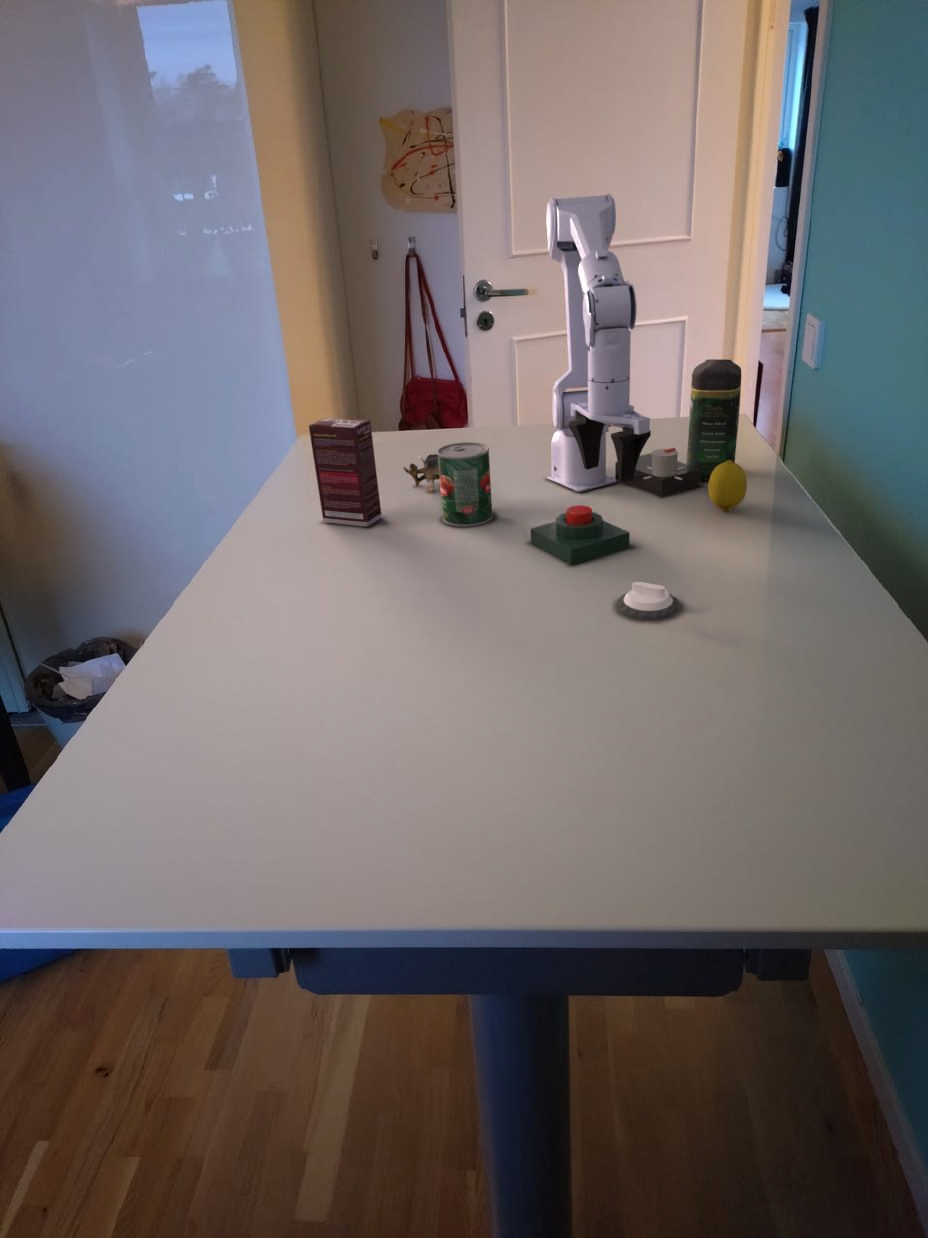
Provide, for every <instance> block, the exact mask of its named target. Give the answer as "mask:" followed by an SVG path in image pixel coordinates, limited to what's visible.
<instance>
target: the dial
mask: <svg viewBox="0 0 928 1238" xmlns="http://www.w3.org/2000/svg"><path fill="white" fill-rule="evenodd" d="M651 453H652V469H651V473H652V475H654V476H657V477H671V476H674V475H676V474H677V461H678V455H679V452H678V450H676V448H675V447H671V448H658V449H654V450H652V451H651Z"/></svg>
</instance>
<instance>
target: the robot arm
mask: <svg viewBox="0 0 928 1238" xmlns="http://www.w3.org/2000/svg"><path fill="white" fill-rule="evenodd" d="M616 209H617V208H616V202H615V199H614V197H613V196H612V195H611V194H610V193H605V194H604V195H603V194H602V195H591V196H579V197H578V196H577V197H563V198H556V197H551V198H550V200H549V201H548V202H547V205H546V232H547V250H548V252H549V258H550V259H551V260H554V261H556V262H558V263H559V264H560V268H561V270H562V274H563V281H564V282H563V283H564V303H565V320H566V321H565V323H566V340H567V341H566V342H567V344H566V345H567V363H568V370H567V371H566V372H565V373H564V374H563V375H561V376H560V377H559V378H557V380H556V381H555V382H554V384H553V386H552V400H551V402H552V403H551V407H552V410H551V411H552V421H553V426H554V429H556V430H555V432H554V433H553V436H552V438H551V443H550V448H551V449H550V457H551V458H550V459H551V474H549V475H548V476H547V479H548V480H550V481H552V482H554V483H557V484H559V485H561V486H564V487H566V488H568V489H570V490H573V491H575V492H577V493H582V492H585V491H589V490H593V489H597V488H600V487H605V486H608V485H613V484H616V483H617V482H618V481H619V482H622V483H624V482H623V481H627V480H630V479H633V476H634V472H635V469H636V465H637V462H638V459H639V456H641V455H642V454H641V453H642V452H643V449H644V447H645V445H646V444H647V442H648V440H649V439H650V437H651V433H652V431H651V430H650V425H651V424H650V422H651V418H650V417H648V416H645V415H642V414H640V413H639V412H637V411H636V410H635V405H631V404H630V401H631V400H630V395H631V394H630V392H631V391H630V390H631V337H632V335H631V334H632V333H631V331H630V330H633V329H634V328H635V325H636V321H637V310H638V309H637V307H638V305H637V297H636V290H635V287H634V284H633V283H630V282H629V280H625V279H624V276H623V272H622V268H621V264H620V262H619V259H618V257H617V255H616V254H615V253H614V252H612V251H610V250H609V248H610V247H611V243H612V241H613V236H614V234H615V231H616V224H617V211H616ZM629 329H630V330H629ZM579 388H587V389H585V390H583V389H581V390H571V391H570V390H569V391H567V390H568V389H579ZM610 427H616V428H620V429H622V430H620V431H617V432H614V433H610V439H611V441H612V443H613V447H614V450H615V455H616V462H617V469H618V478H619V480H617V479H615V478H614V477H611V476H608V475H607V471H606V470H607V433H609V429H610Z"/></svg>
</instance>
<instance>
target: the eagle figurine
mask: <svg viewBox="0 0 928 1238" xmlns="http://www.w3.org/2000/svg"><path fill="white" fill-rule="evenodd" d="M418 459H419V460H420V461H421V462H422V464H423V467H421V468H419V467H418V466H417V465H416V464H414V463H413V462H412V463H410V464H409V468H406V466H403V470H404V471H405V473H406V474H408V475H410V476H411V477H412V479H413V480H414V482H415V487H419V484H420V483H421V482H423V481H424V480H426V482H427V484H428V487H429V493H432V492H433V491H434V489H435V481H436V480H438V481H440V476H439V464H438V454H437V453H435V454H429V455H428V456H426V457H425V459H423V458H422V456H421V455H418ZM419 474H422V475H420V476H418V475H419Z"/></svg>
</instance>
